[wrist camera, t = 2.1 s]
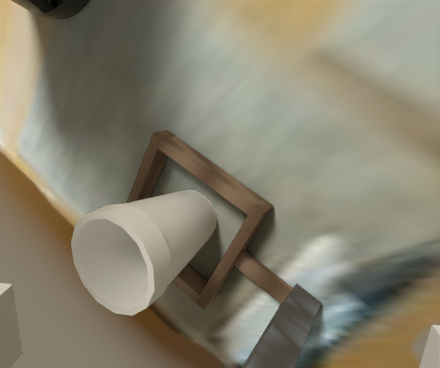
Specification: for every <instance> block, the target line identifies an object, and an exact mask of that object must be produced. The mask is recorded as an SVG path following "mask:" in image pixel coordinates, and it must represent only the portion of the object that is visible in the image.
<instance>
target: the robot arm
mask: <svg viewBox="0 0 440 368" xmlns="http://www.w3.org/2000/svg"><path fill="white" fill-rule="evenodd" d="M11 1H13V2H15V3H17V4H18V5H20V6H22V7H24V8H25V9H27V10H29V11H31V12H33V13H35V14H38V15H42V16H46V17H52V18H58V19H63V18H68V17H71V16H73V15H75V14H76V13H77V12H79V11H80V10H81V9H82V8H83V7H84V6H85V5H86V3H87V2H88V1H89V0H11ZM21 354H22V347H21V340H20V333H19V327H18V319H17V312H16V305H15V298H14V292H13V285H12V284H2V283H0V368H11V367H12V365H13V364H14V363H15V362H16V361H17V359H18V358H19V357H20V356H21ZM419 368H440V325H432V327H431V330H430V333H429V337H428V340H427V344H426V347H425V351H424V354H423V357H422V360H421V364H420V367H419Z"/></svg>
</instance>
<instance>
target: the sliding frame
mask: <svg viewBox="0 0 440 368" xmlns="http://www.w3.org/2000/svg"><path fill="white" fill-rule="evenodd" d="M167 156H169V157H170V158H171V159H173V160H174V161H175V162H177V163H178V164H179V165H181V166H182V167H183V168H185V169H186V170H187V171H189V172H190V173H192V174H193V175H194V176H196V177H197V178H198V179H200V180H201V181H202V182H204V183H205V184H206V185H208V186H209V187H210V188H212V189H213V190H215V191H216V192H217V193H219V194H220V195H221V196H223V197H224V198H225V199H227V200H228V201H229V202H231V203H232V204H233V205H235V206H236V207H238V208H239V209H240V210H242V211H243V212H244V213H246V214H247V215H248V216H247V218H246V220H245V221H244V223H243V225H242V226H241V228H240V229H239V231H238V233H237V234H236V236H235V238H234V239H233V241H232V243H231V244H230V246H229V248H228V249H227V251H226V253H225V254H224V256H223V258H222V259H221V261H220V263H219V264H218V266H217V268H216V269H215V271H214V273H213V274H212V276H211V278H210V279H209V281H208V282H207V281H206V280H205V279H204V278H202V277H201V276H200V275H199V274H198V273H197V272H195V271H194V270H193V269H192V268H191V267H189V266H188V265H186V266H185V267H184V268H183V269H182V270H181V272H180V273H179V274H178V275H177V276H176V277H175V278H174V280H173V281H172V282H173V283H174V284H176V285H177V286H178V287H179V288H180V289H181V290H182V291H184V292H185V293H186V294H187V295H188V296H189V297H190V298H192V299H193V300H194V301H195V302H196V303H197V304H198V305H200V306H201V307H202V308H203V309H204V308H205V307H206V306H207V305H208V304H209V303H210V302H211V301H212V300H213V299H214V298H215V296H216V295H217V293H218V292H219V290H220V288H221V287H222V285H223V284H224V282H225V281H226V279H227V277H228V276H229V274H230V273H231V271H232V270H233V268H234V266H235V267H236V268H237V269H239V270H240V271H241V272H242V273H244V274H245V275H246V276H247V277H249V278H250V279H251V280H252V281H254V282H255V283H256V284H257V285H259V286H260V287H261V288H262V289H264V290H265V291H266V292H267V293H269V294H270V295H271V296H272V297H274V298H275V299H276V300H277V301H279V302H280V303H281V305H280V306H279V308H278V310H277V311H276V313H275V315H274V316H273V318H272V320H271V321H270V323H269V324H268V326H267V328H266V329H265V331H264V333H263V334H262V336H261V338H260V339H259V341H258V342H257V344H256V346H255V347H254V349H253V351H252V352H251V354H250V356H249V357H248V359H247V360H246V362H245V364H244V365H243V367H242V368H294V367H295V364H296V362H297V360H298V357H299V355H300V353H301V350H302V348H303V346H304V343H305V341H306V339H307V336H308V334H309V332H310V329H311V327H312V324H313V322H314V320H315V317H316V315H317V313H318V310H319V308H320V306H321V302H320V301H318V300H317V299H316V298H315V297H313V296H312V295H311V294H309V293H308V292H307V291H305V290H304V289H303V288H302V287H300V286H299V285H298V284H296V285H295V286H294V288H292V287H291V286H290V285H288V284H287V283H286V282H285V281H283V280H282V279H281V278H279V277H278V276H277V275H276V274H274V273H273V272H272V271H270V270H269V269H268V268H267V267H265V266H264V265H263V264H261V263H260V262H259V261H258V260H256V259H255V258H254V257H252V256H251V255H250V254H249V253H247V252H246V251H245V249H246V248H247V246H248V244H249V243H250V241H251V240H252V238H253V236H254V235H255V233H256V232H257V230H258V229H259V227H260V225H261V224H262V222H263V221H264V219H265V218H266V216H267V214H268V213H269V211H270V210H271V208H272V207H273V205H272V204H270V203H269V202H267V201H266V200H265V199H263V198H262V197H260V196H259V195H258V194H256V193H255V192H253V191H252V190H251V189H249V188H248V187H246V186H245V185H244V184H242V183H241V182H239V181H238V180H237V179H235V178H234V177H232V176H231V175H229V174H228V173H227V172H225V171H224V170H222V169H221V168H220V167H218V166H217V165H215V164H214V163H213V162H211V161H210V160H208V159H207V158H206V157H204V156H203V155H201V154H200V153H199V152H197V151H196V150H194V149H193V148H192V147H190V146H189V145H187V144H186V143H185V142H183V141H182V140H180V139H179V138H177V137H176V136H175V135H173V134H172V133H170V132H169V131H168V130H167V131H161V132H155V133H153V135H152V137H151V140H150V143H149V145H148V148H147V150H146V153H145V156H144V158H143V161H142V164H141V166H140V169H139V171H138V174H137V177H136V179H135V182H134V184H133V187H132V190H131V192H130V195H129V198H128V200H127V203H129V202H134V201H138V200H142V199H147V198H150V196H151V193H152V191H153V189H154V186H155V184H156V181H157V179H158V177H159V174H160V172H161V169H162V167H163V165H164V162H165V160H166V157H167Z"/></svg>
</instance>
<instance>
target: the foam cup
mask: <svg viewBox="0 0 440 368" xmlns="http://www.w3.org/2000/svg"><path fill="white" fill-rule="evenodd" d="M216 227H217V214H216V212H215V210H214V207H213V205H212V203H211V202H210V201H209V200H208V199H207V198H206V196H205V195H204V194H202V193H200V192H197V191H195V190H184V191H178V192H174V193H169V194H165V195H160V196H156V197H151V198H147V199H142V200H138V201H134V202H129V203H125V204H113V205H107V206H104V207H102V208H99V209H97V210H94V211H91V212H89V213H87V214H86V215H85V216H84V217H83V218H82V219H81V220H80V221H79V222H77V223H76V225H75V229H74V233H73V237H72V240H71V245H72V253H73V261H74V265H75V267H76V269H77V272H78V274H79V276H80V278H81V281H82V283H83V285H84V286H85V287H86V289H87V290H88V291H89V292H90V293H91V295H92V296H93V297H94V298H95V300H96V301H97V302H98V303H100V304H102V305H103V306H104V307H106V308H108V309H109V310H111V311H112V312H114V313H117V314H124V315H131V316H132V315H135V314H136V313H138V312H140V311H142V310H144V309H146V308H147V307H148V306H150V305H151V304H152V303H153V302H154V301H156V300H157V299H158V298H159V297H160V296H162V295H163V294H164V293H165V291H166V288H167V286H168V285H169V284H170V283H171V282H172V281H173V280H174V278H175V277H176V276H177V275H178V274H179V273H180V272H181V270H182V269H183V268H184V267H185V266H186V265H187V264H188V263H189V261H190V260H191V259H192V258H193V257H194V256H195V255H196V253H197V252H198V251H199V250H200V249H201V248H202V247H203V246H204V244H205V243H206V242H207V241H208V240H209V239H210V237H211V236H212V235H213V233H214V231H215V229H216Z"/></svg>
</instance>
